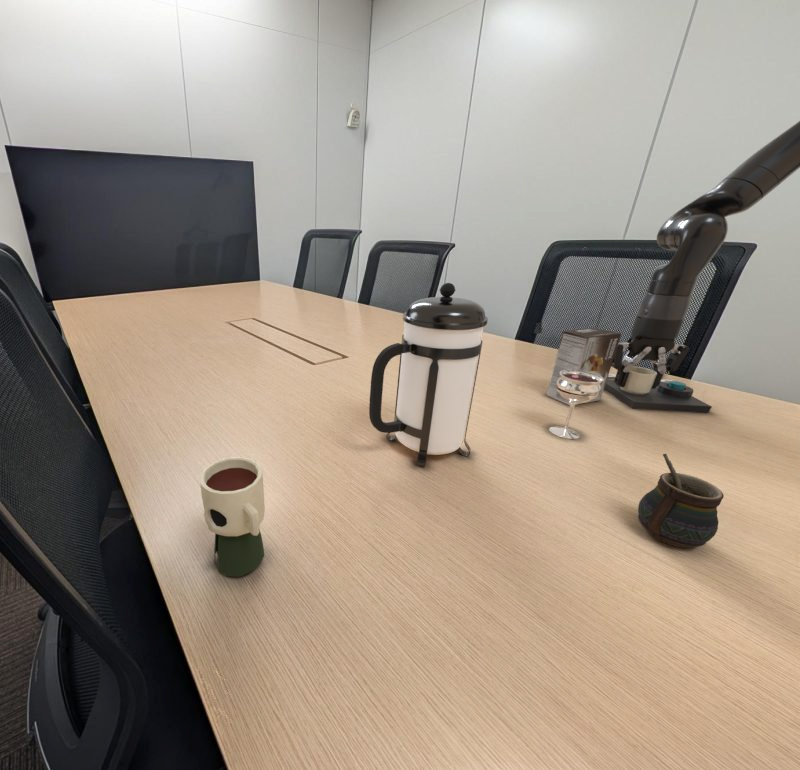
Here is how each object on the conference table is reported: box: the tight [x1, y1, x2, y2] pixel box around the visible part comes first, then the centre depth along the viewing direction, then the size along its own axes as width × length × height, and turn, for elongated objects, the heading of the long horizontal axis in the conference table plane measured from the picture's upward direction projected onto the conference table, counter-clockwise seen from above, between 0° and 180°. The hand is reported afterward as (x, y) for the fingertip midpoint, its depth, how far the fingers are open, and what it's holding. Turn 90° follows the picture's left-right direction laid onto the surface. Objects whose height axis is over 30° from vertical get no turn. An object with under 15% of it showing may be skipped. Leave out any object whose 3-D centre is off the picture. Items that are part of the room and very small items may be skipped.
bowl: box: [620, 365, 657, 394], centre depth 87 cm, size 6×6×5 cm
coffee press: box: [368, 282, 489, 468], centre depth 64 cm, size 17×16×30 cm
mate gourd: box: [637, 453, 725, 549], centre depth 47 cm, size 7×8×10 cm
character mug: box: [199, 456, 266, 578], centre depth 45 cm, size 11×7×13 cm, turn 34°
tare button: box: [668, 380, 687, 390], centre depth 85 cm, size 3×3×1 cm
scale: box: [604, 378, 712, 414], centre depth 87 cm, size 14×14×3 cm
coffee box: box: [546, 327, 622, 406], centre depth 85 cm, size 9×6×16 cm
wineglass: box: [548, 370, 604, 440], centre depth 71 cm, size 7×7×12 cm
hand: (634, 386), depth 87 cm, fingers closed on bowl, 5 cm apart
